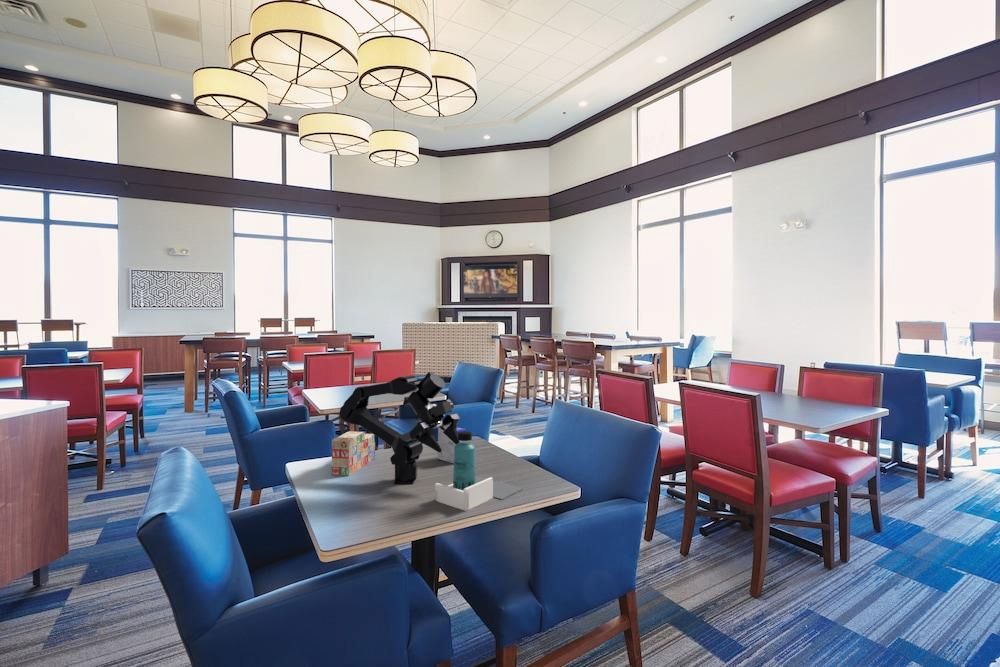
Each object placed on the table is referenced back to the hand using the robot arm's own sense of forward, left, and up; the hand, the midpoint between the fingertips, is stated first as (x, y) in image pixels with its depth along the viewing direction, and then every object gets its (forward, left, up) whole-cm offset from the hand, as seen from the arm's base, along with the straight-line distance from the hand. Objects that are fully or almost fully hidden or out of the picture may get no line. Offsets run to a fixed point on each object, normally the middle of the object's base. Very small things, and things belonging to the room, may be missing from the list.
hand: (450, 448), depth 145 cm
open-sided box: (+5, -7, -13) cm, 16 cm away
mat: (+12, +3, -13) cm, 18 cm away
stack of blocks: (-38, +23, -14) cm, 46 cm away
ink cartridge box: (-4, +31, -14) cm, 34 cm away
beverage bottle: (+5, -7, -14) cm, 16 cm away
